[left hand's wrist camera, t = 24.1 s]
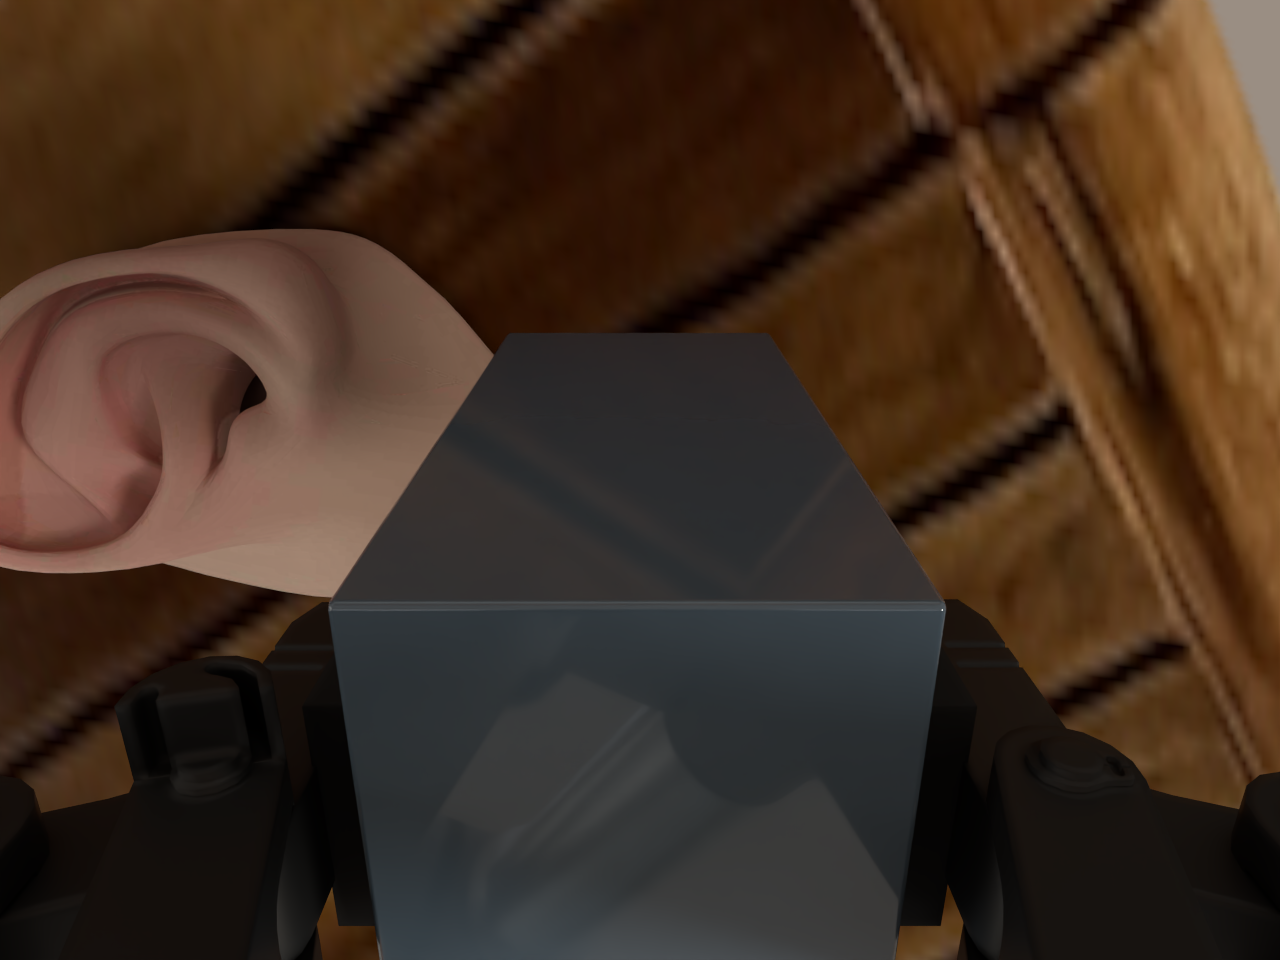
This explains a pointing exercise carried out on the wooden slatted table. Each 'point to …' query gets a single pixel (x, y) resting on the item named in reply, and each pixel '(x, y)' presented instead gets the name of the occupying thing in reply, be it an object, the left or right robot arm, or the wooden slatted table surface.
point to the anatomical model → (222, 405)
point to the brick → (637, 669)
